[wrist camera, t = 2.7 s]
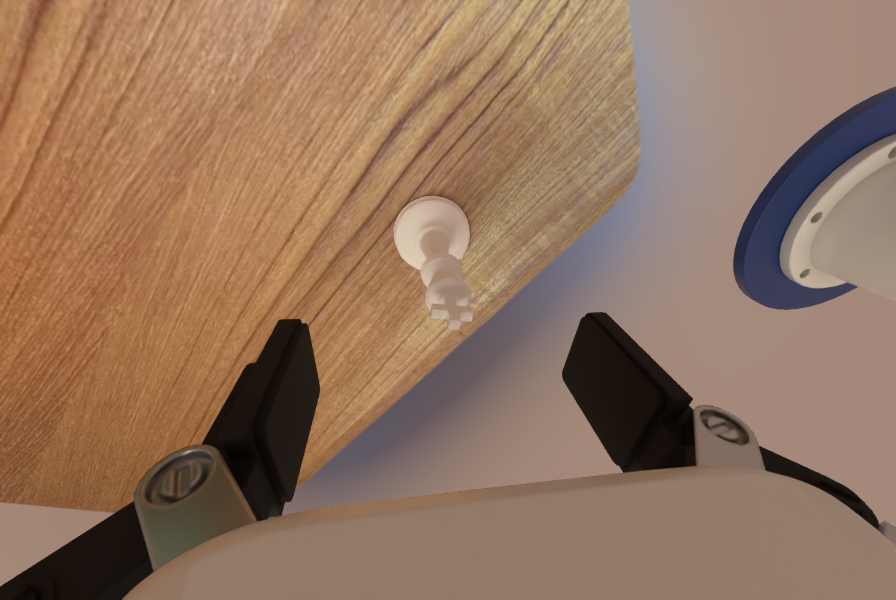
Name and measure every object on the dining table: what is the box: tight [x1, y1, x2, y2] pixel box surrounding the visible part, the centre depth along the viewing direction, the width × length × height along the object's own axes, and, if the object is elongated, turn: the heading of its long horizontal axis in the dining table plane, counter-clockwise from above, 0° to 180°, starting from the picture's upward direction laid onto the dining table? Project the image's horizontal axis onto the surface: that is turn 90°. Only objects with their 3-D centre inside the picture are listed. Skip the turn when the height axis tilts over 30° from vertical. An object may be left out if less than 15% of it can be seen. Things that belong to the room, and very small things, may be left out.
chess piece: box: [394, 196, 474, 330], centre depth 16 cm, size 5×5×10 cm
